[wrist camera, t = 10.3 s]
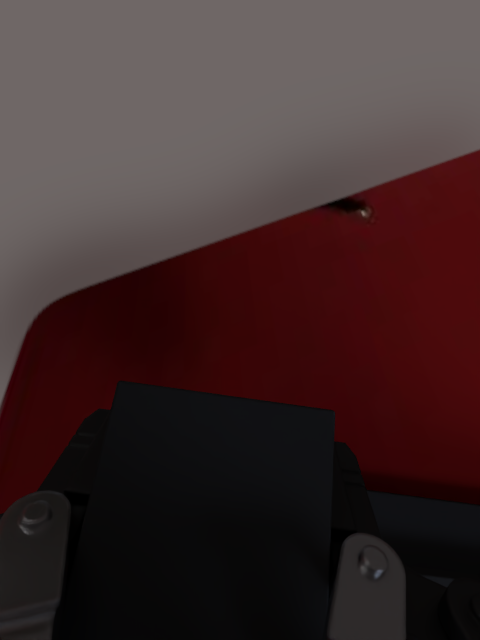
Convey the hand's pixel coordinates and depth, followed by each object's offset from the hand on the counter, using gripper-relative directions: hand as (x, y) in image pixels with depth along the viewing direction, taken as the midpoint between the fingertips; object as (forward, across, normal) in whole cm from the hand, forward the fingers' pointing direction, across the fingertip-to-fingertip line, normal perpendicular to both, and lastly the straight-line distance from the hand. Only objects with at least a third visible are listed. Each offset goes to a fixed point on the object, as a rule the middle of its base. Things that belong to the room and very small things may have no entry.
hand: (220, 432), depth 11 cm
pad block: (+2, 0, +4) cm, 5 cm away
